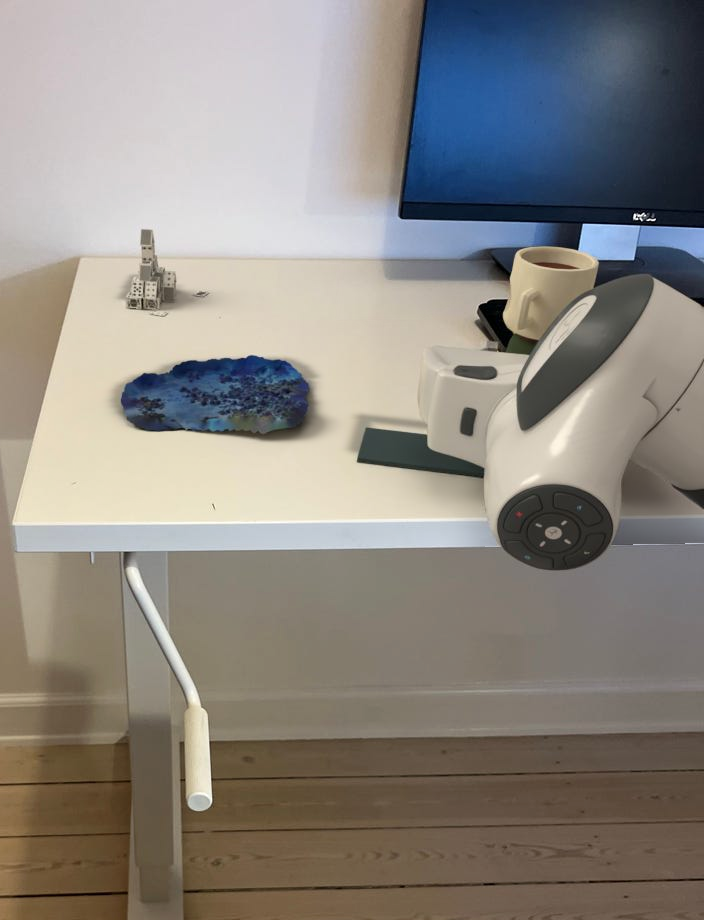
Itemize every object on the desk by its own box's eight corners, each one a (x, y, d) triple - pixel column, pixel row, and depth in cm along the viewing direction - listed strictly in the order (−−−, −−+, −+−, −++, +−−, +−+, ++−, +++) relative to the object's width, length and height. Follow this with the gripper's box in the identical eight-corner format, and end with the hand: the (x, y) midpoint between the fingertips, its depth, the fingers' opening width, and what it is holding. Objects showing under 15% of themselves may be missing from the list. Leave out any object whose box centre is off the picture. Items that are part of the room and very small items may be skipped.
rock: (307, 439, 86) (308, 418, 85) (113, 432, 87) (111, 411, 86) (310, 375, 98) (311, 356, 97) (138, 369, 99) (137, 350, 98)
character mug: (519, 371, 99) (546, 236, 91) (586, 391, 96) (621, 252, 88) (464, 405, 93) (489, 263, 85) (534, 428, 89) (567, 281, 81)
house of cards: (199, 318, 109) (199, 246, 105) (121, 314, 110) (118, 242, 105) (209, 291, 116) (210, 222, 112) (136, 287, 117) (134, 219, 112)
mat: (527, 450, 86) (528, 446, 85) (527, 483, 81) (528, 478, 81) (365, 431, 88) (365, 427, 88) (356, 462, 83) (357, 457, 83)
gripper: (708, 399, 70) (683, 330, 81) (417, 369, 74) (430, 307, 84) (682, 478, 74) (661, 402, 85) (407, 446, 78) (420, 377, 88)
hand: (544, 354), depth 85 cm, fingers open, 8 cm apart
